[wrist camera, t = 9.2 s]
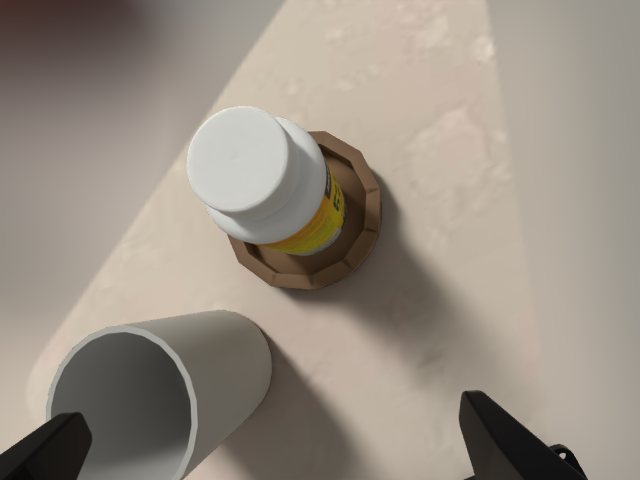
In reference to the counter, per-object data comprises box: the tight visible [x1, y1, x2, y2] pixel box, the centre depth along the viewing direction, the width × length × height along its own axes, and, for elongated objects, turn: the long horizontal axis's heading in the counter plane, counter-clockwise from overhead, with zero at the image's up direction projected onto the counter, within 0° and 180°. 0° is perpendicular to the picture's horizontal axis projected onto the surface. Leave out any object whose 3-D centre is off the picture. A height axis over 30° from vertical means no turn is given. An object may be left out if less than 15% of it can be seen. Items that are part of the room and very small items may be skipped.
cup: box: [46, 310, 272, 480], centre depth 18 cm, size 7×10×9 cm
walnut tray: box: [227, 131, 382, 290], centre depth 22 cm, size 10×10×2 cm
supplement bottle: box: [187, 106, 347, 256], centre depth 17 cm, size 6×6×10 cm
